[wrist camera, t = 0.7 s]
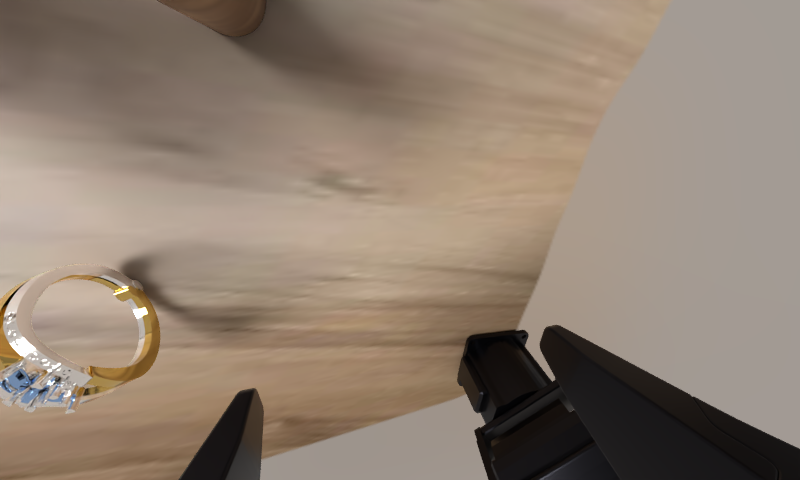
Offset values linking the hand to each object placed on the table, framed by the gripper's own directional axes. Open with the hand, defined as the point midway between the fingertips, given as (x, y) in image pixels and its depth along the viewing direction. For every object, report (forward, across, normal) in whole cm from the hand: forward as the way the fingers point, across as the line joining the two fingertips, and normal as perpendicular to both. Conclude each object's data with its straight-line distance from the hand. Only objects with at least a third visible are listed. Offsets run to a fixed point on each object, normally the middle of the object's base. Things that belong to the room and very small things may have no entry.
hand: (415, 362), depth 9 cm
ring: (+13, +15, +4) cm, 20 cm away
